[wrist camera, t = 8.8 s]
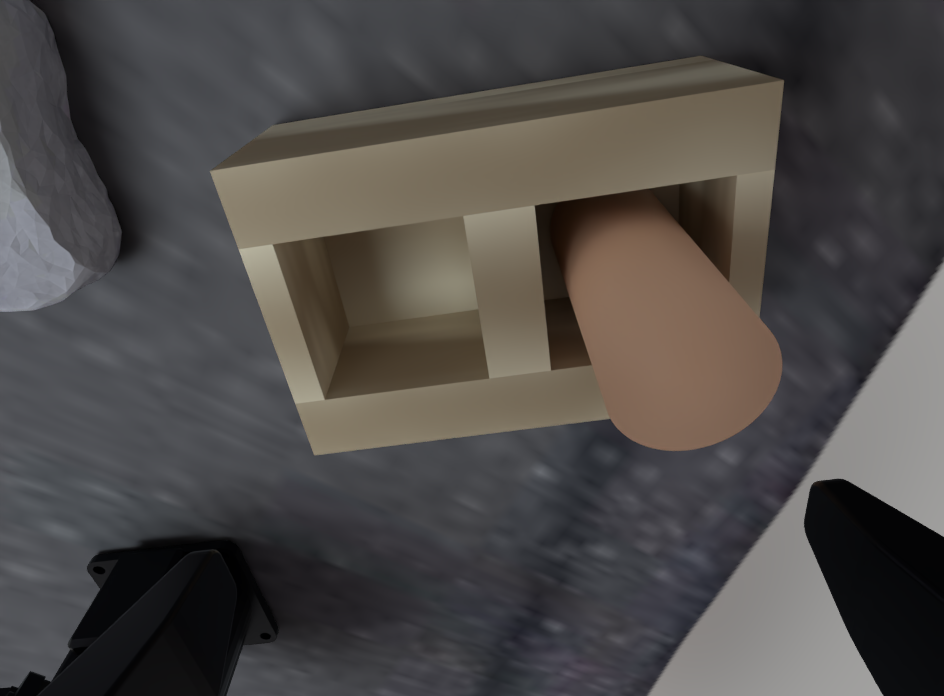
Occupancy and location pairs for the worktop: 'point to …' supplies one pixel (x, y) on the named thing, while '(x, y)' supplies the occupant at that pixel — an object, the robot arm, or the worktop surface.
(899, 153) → the worktop surface
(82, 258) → the stone block
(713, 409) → the peg
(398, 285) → the socket block
